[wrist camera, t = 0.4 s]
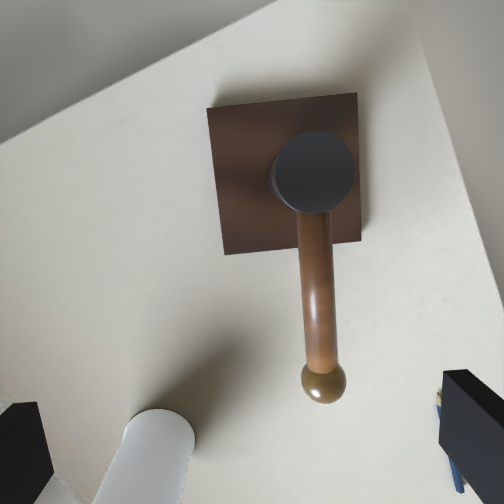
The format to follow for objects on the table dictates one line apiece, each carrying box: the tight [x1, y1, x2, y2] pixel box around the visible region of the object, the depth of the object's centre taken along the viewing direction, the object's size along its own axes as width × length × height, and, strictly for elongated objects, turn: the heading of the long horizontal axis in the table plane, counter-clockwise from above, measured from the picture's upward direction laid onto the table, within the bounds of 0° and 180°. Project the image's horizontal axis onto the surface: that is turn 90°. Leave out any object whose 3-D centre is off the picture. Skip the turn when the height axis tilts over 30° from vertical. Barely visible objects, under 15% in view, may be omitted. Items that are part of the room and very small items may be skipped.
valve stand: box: [207, 93, 361, 255], centre depth 27 cm, size 14×14×11 cm
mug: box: [92, 409, 195, 504], centre depth 33 cm, size 12×8×12 cm
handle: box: [271, 131, 355, 404], centre depth 21 cm, size 18×5×3 cm, turn 6°
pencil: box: [436, 393, 464, 494], centre depth 39 cm, size 1×1×15 cm
